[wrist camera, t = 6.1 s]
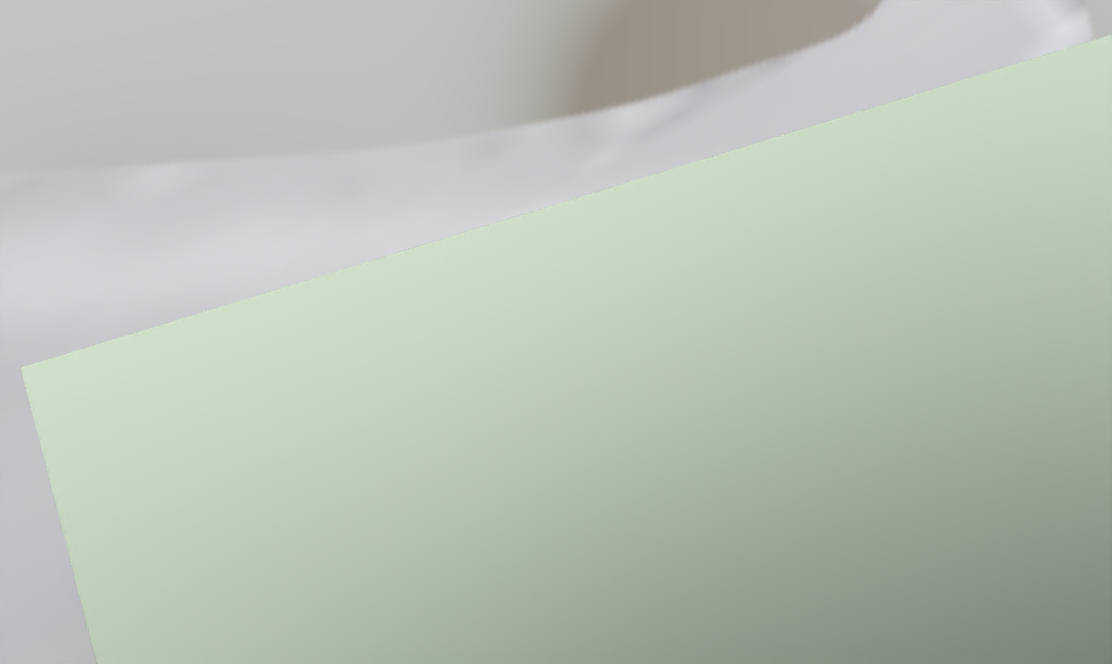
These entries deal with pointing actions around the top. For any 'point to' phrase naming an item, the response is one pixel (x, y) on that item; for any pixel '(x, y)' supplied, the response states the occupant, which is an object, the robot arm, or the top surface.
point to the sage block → (645, 419)
